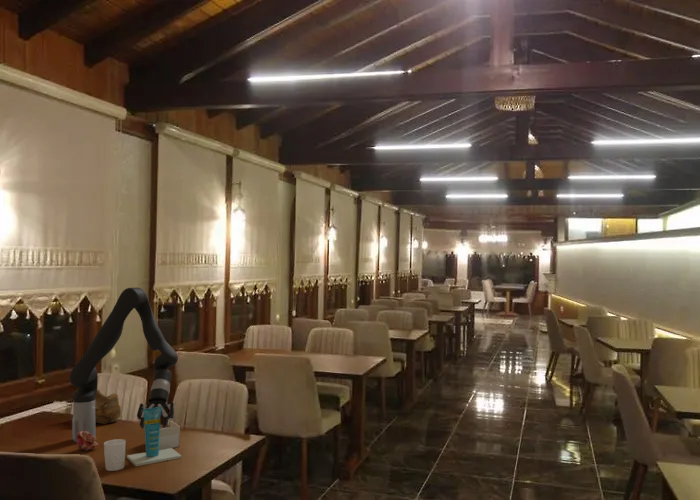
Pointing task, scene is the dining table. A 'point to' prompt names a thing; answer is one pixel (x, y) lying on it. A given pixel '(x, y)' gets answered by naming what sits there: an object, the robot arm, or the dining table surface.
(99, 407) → the rough brown rock
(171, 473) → the dining table surface
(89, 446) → the flower
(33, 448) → the dining table surface
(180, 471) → the dining table surface
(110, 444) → the white cup
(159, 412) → the tube
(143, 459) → the tile
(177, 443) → the carton
